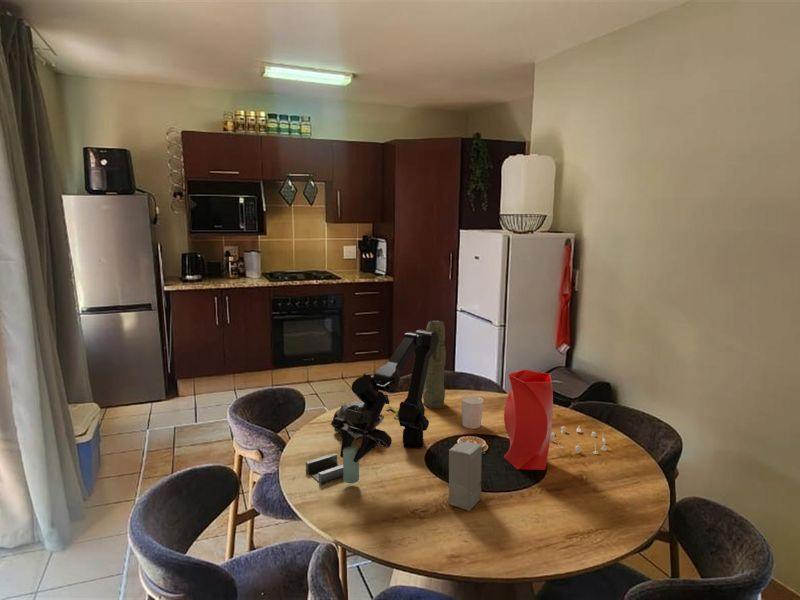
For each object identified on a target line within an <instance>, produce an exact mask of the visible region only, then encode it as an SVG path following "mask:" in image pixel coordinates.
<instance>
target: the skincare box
mask: <svg viewBox="0 0 800 600" xmlns="http://www.w3.org/2000/svg"><path fill="white" fill-rule="evenodd" d="M482 446H483V445H482V444H481V443H477V442H476V443H475V442H471V441H467V440H463V439H462V440H460V441H459V442H457V443H455V444H454V445H453V446H452V447H451V448H450V449H448V504H449V505H450V506H453V507H456V508H460V509H463V510H466V511H468V512H471V510H472V509H473V508H474V507H475V506H476V505H477V503H479V501H480V500H481V498H482V458H483V457H482V450H483V449H482V448H483V447H482Z"/></svg>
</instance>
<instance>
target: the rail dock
mask: <svg viewBox="0 0 800 600" xmlns="http://www.w3.org/2000/svg"><path fill="white" fill-rule="evenodd" d="M305 472H306V473H307V474H308V475H310V476H311V477H312V478H313V479H314V480H315V481H317V482H318V483H319V484H320V485H326V484H328V483H331V482H333V481H337V480H340V479H343V464H339V463H338V454H337V453H336V452H334V453H331V454H327V455H323V456H320V457H318V458H315V459H311V460H307V461H305Z"/></svg>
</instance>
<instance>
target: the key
mask: <svg viewBox="0 0 800 600" xmlns="http://www.w3.org/2000/svg"><path fill="white" fill-rule="evenodd" d="M384 407H385V409H390V410H391V411H393V412H394V414H393V419H394V420H398V421H399V419H398V411H399V409H396V408H395V407H394V406H392V405H391V404H387V405H386V406H385V405H384Z"/></svg>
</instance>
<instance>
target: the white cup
mask: <svg viewBox="0 0 800 600" xmlns="http://www.w3.org/2000/svg"><path fill="white" fill-rule="evenodd" d="M483 409H484V399H483V398H482V397H479V396H474V395H467V396H464V397H462V398H461V418H462V421H461V422H462V426H463V427H464V428H467V429H474V430H475V429H479V428H481V425H482V417H483Z"/></svg>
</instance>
